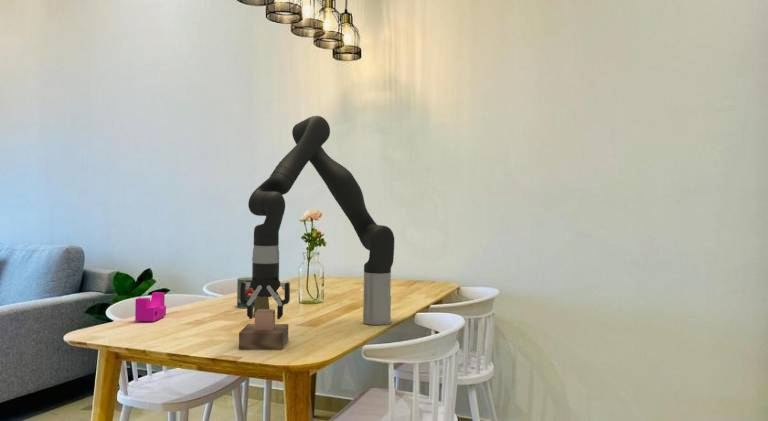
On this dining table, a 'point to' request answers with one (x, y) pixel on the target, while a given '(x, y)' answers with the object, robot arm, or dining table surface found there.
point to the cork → (261, 303)
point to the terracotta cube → (265, 319)
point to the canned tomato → (248, 292)
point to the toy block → (150, 307)
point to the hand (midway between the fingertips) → (264, 318)
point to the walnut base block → (263, 338)
